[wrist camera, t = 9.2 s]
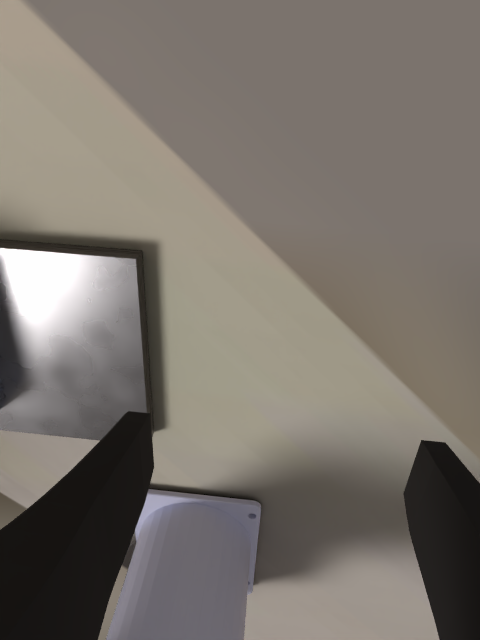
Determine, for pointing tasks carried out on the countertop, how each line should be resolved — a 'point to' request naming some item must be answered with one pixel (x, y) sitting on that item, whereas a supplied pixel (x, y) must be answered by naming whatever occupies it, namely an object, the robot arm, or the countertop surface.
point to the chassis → (71, 338)
